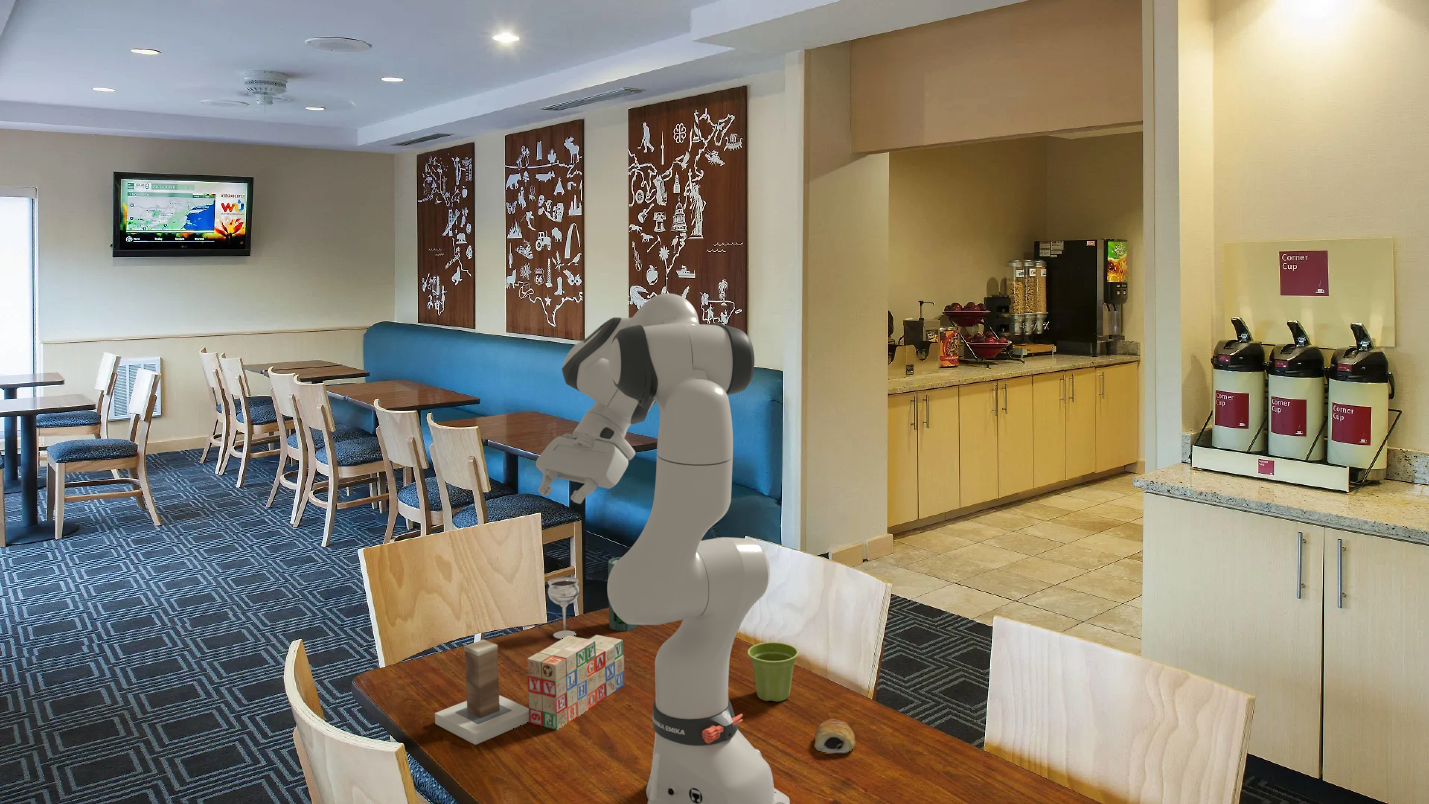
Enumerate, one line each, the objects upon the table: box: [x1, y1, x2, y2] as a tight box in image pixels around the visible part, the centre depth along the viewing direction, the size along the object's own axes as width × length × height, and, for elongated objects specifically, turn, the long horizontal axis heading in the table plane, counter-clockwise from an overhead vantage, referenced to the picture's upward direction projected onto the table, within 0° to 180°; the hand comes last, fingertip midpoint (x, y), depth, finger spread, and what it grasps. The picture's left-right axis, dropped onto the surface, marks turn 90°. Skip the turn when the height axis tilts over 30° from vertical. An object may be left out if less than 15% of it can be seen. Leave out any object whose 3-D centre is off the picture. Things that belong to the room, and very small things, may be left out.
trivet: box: [434, 694, 529, 746], centre depth 178 cm, size 12×12×2 cm
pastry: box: [813, 718, 856, 754], centre depth 170 cm, size 9×7×4 cm
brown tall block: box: [463, 639, 500, 718], centre depth 177 cm, size 4×4×12 cm
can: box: [607, 556, 639, 632], centre depth 224 cm, size 6×6×15 cm
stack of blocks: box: [526, 634, 625, 731], centre depth 185 cm, size 21×6×12 cm, turn 152°
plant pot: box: [747, 641, 799, 703], centre depth 187 cm, size 9×9×9 cm
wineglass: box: [547, 576, 580, 640], centre depth 219 cm, size 7×7×12 cm
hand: (558, 497), depth 187 cm, fingers open, 8 cm apart
